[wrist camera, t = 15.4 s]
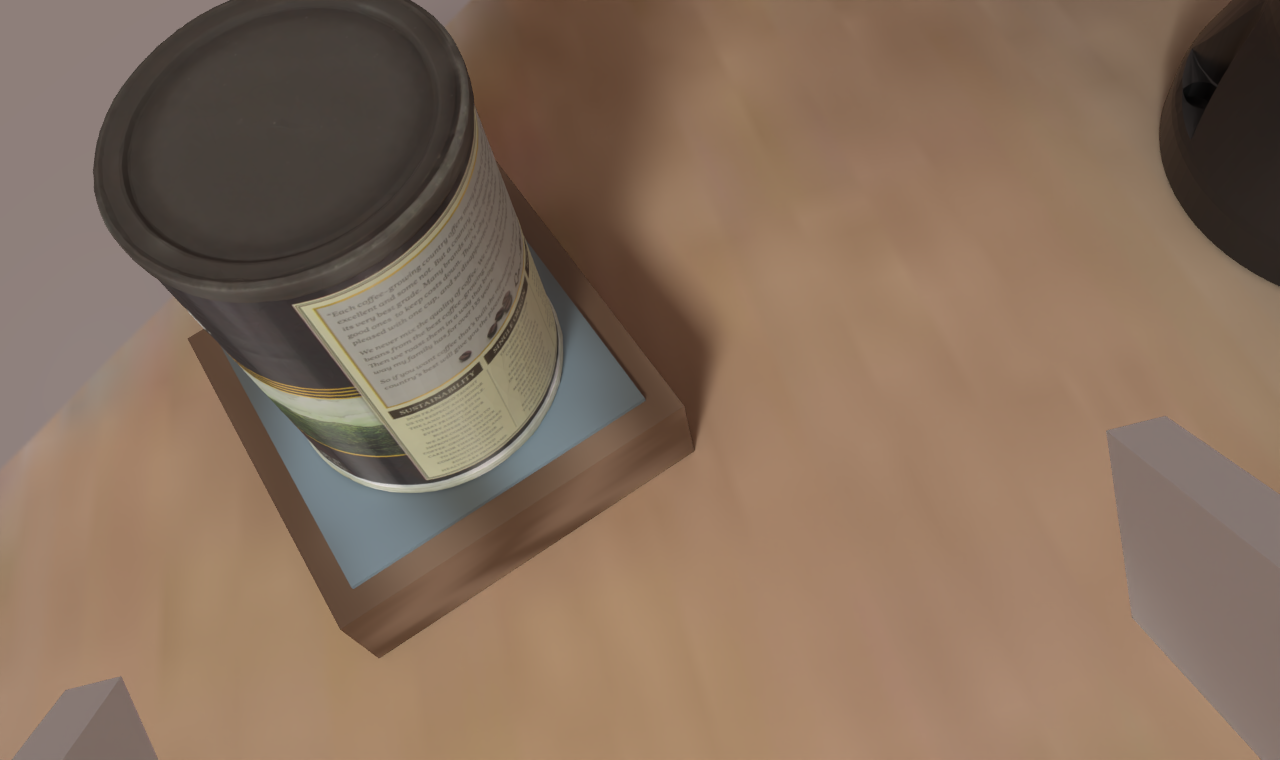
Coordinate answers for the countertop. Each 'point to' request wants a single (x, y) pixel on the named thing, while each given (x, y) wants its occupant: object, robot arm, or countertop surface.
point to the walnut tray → (483, 507)
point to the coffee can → (339, 231)
